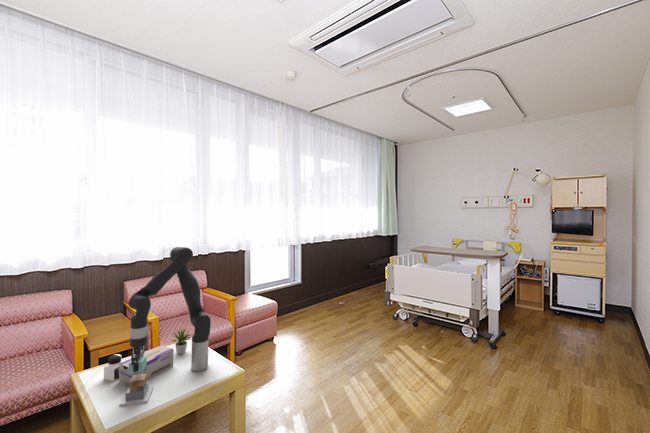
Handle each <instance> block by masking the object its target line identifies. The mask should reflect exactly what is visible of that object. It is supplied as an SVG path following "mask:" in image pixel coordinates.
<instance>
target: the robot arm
mask: <svg viewBox="0 0 650 433" xmlns="http://www.w3.org/2000/svg"><path fill="white" fill-rule="evenodd" d="M169 254H170V255H169V257H170V261H171V262H170V264H169V265H167V266H166V267H165V268H163V269H162V270H160V271H159V272H157V273H156V274H155V275H154V276H153V277H152V278H151V279H150V281H148V282H147V283H146V284H145V285H144V286H143V287H141V288H140V289H139V290H137V291H136V292H135V293H134V294H133V295H132V296H131V297H130V298H129V300H128V302H127V304H128V307H129V308H131V310H132V309H133V310H135V314H133V315H132V316H131V319H130V330H129V346H130V347H131V348H133V349H132V353H131V355H130V359H131V365H133V372H138V370H139V359H140V358H141V357H142V356H143V354H144V353H145V350H146V348H145V347H146V345H147V344H148V316H149V314H150V309H151V306H152V305H151V304H152V302H151V299H150V297H152V296H156V295H158V293H159V292H160V291H161V290H162V288H163V287H164V286H165V285H167V283H168V282H169V281H170V280H171V279H172V277H175V275H177V278H178V282H179V284H180V288H181V292H182V295H183V297H184V301H185V303H186V306H187V309H188V312H189V313H188V314H189V320H190V323H191V325H192V326H193V328H194V333H193V334H192V335H191V337H192V338H191V358H190V359H191V362H190V370H191V371H192V370H193V371H192V372H194V371H199V372H202V371H201V370H203V371H205V370H204V369H206V368H207V367H208V366H209V336H210V334H211V326H212V325H211V324H212V323H211V322H212V321H211V317H210V316H209V314H208V313H205V311H204V309H203V306H202V304H201V289H200V288H201V287H200V286H199V282H198V280H197V278H196V277H195V275H194V274H193V272H192V271H191V270H190V268H189V266H188V264H189V263H190V262H191V260H192V259H193V257H194V253H193V250H192V249H191V248H190V247H186V246H176V247H173V248H172V249H171V251H170V253H169ZM135 361H136V362H135ZM208 368H209V367H208ZM208 368H207V369H208ZM207 369H206V370H207Z"/></svg>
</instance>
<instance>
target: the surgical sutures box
mask: <svg viewBox="0 0 650 433" xmlns="http://www.w3.org/2000/svg"><path fill="white" fill-rule="evenodd" d="M143 356H147V361H146V367H145V369H144V370H143V372H137V373H129V362H130V361H131V358H129V359H126V360H125V361H121V362H122V363H119V379H118V383H120V384H121V385H124V386H125V387H128V388H129V386H130V380H131V379H132V377H133V375H137V374H146V373H147V381H148V380H150V379H151V378H153V377H155V376H157V375H159V374H161V373H163V372H165V371H167V370H168V369H171V368H172V367H174V348H171V347H170V346H166V345H163V344H161V345H159V346H156V347H154V348H152V349H149V350H147V351H144V354H143Z"/></svg>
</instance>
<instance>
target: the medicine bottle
mask: <svg viewBox="0 0 650 433" xmlns="http://www.w3.org/2000/svg"><path fill="white" fill-rule="evenodd" d="M122 362H123V361H122V355H121V354H117V353H116V354H115V353H114V354H112V355H110V356H109V357H107V365H105V366H104V367H103V380H104V381H111V382H115V381H117V380H119V363H122Z"/></svg>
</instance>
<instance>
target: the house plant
mask: <svg viewBox="0 0 650 433" xmlns="http://www.w3.org/2000/svg"><path fill="white" fill-rule="evenodd" d="M186 327H187V326H185V327H183V329H182V327H181V328H180V331H179V330H178V329H177V330H176V331H173V332H172V334H173V335H174V336H173V337H174V338H176V339H177V340H176V339H173V340H172V343H175V342H176V343H175V344H174V345H175V350H176V354H177V355H183V354H185V353H186V351H187V345H188V342H187V340H190V341H192V336H193V334H192V333H190V332H191V329H190V330H188V328H186ZM187 330H188V331H187ZM186 331H187V332H186ZM176 332H177V333H176ZM189 333H190V334H189Z"/></svg>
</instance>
